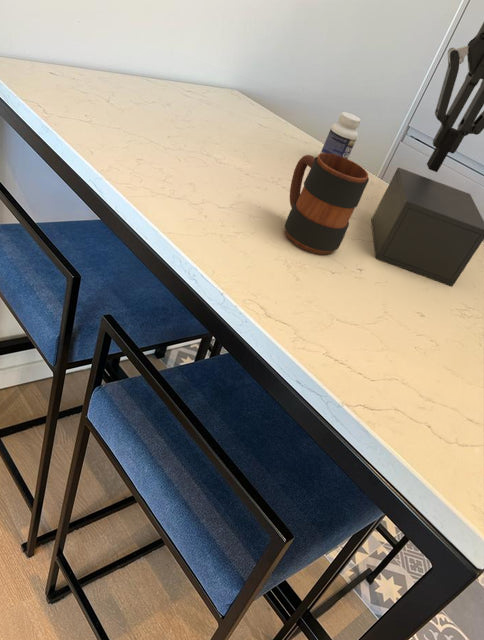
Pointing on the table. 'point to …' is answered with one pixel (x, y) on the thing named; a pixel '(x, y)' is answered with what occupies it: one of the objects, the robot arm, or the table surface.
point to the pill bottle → (342, 136)
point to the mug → (323, 201)
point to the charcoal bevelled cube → (426, 227)
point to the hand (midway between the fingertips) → (431, 167)
